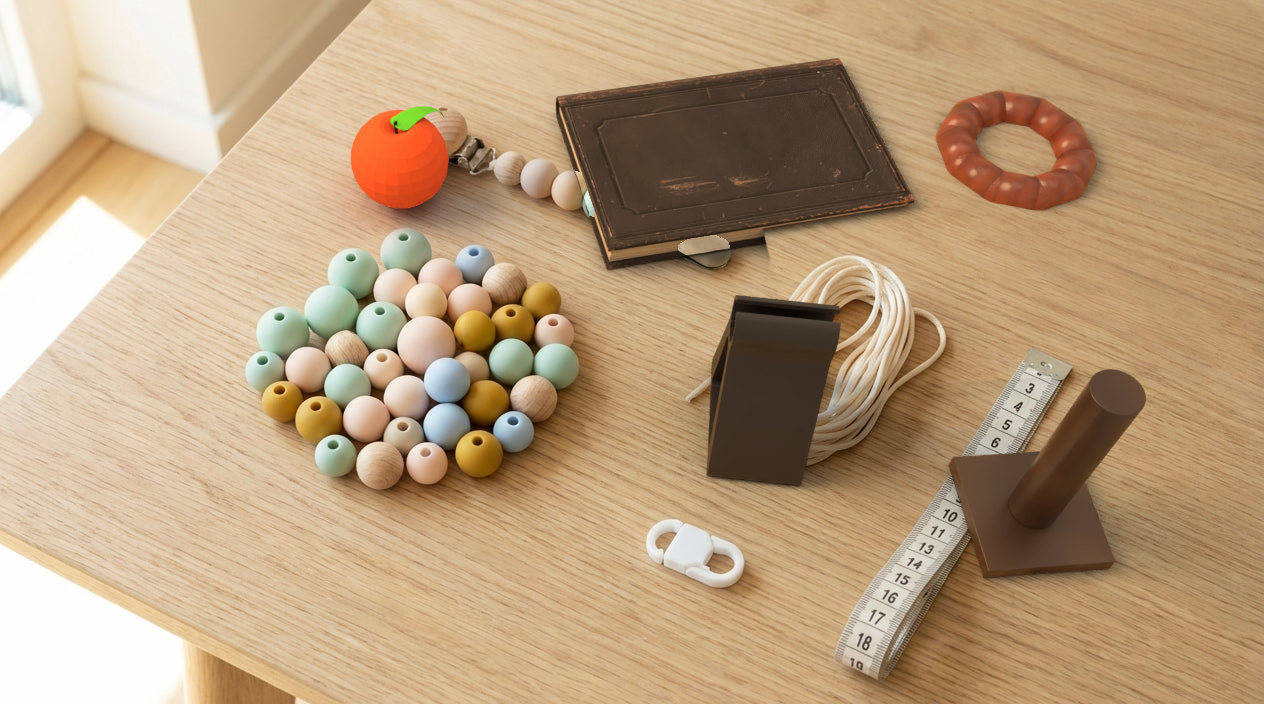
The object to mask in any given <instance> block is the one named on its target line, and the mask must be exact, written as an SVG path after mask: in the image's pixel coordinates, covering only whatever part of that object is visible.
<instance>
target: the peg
mask: <svg viewBox="0 0 1264 704" xmlns="http://www.w3.org/2000/svg"><path fill="white" fill-rule="evenodd" d="M1146 402H1147V395H1146V390H1145V388H1144V387H1143V386H1142V384H1141V383H1140V382H1139V380H1138V379H1136V377H1134V376H1132V375H1131V374H1129V373H1127V372H1125V371H1123V370H1119V369H1114V368H1106V369H1102V370H1099V371H1096V373H1094V374H1093V375H1092V376H1091V377H1090V379H1089V381H1088V382H1087V383H1086V385H1084V388H1083V389H1082V391H1080V393H1079V395H1078V396H1077V398H1076V400H1075V401H1074V402H1073V403H1072V405H1071V406H1070V407H1069V409H1068V411H1067V412H1066V413H1065V415H1064V416H1063V418H1062V419H1061V421H1060V423H1059V424H1058V425H1057V427H1056V428H1055V430H1054V431H1053V433H1052V434H1051V436H1050V437H1049V438H1048V440H1047V441H1046V443H1044V445H1043V447H1042V449H1041V450H1039V451H1025V452H1009V453H1008V452H1007V453H996V454H979V455H978V454H977V455H962V456H952V458H951V460H950V461H949V463H948V467H949V471H950V474H951V477H952V480H953V485H954V486H955V490H956V493H957V496H958V499H959V502H960V506H961V509H962V513H963V516H964V519H965V522H966V525H968V526H967V529H968V532H969V536H970V538H971V543H972V545H973V548H974V551H975V554H976V557H977V561H978V564H979V567H980V571H981V574H982V577H983V578H984V579H986V578H987V579H988V578H998V577H999V578H1000V577H1001V578H1002V577H1015V576H1027V575H1028V576H1029V575H1041V574H1043V575H1044V574H1056V573H1068V572H1083V571H1084V572H1085V571H1096V570H1098V571H1099V570H1109V569H1111V567H1112V566H1113V565H1114V564H1115V563H1116V559H1115V557H1114V553H1113V551H1112V548H1111V546H1110V543H1109V541H1108V538H1107V535H1106V532H1105V530H1104V528H1103V525H1102V522H1101V519H1100V517H1099V514H1098V512H1097V509H1096V506H1095V504H1094V502H1093V501H1094V500H1093V497H1092V495H1091V493H1090V491H1089V487H1088V484H1087V483H1086V482H1087V481H1088V480H1089V479H1090V477H1091V475H1093V473H1094V472H1095V470H1096V469H1097V468H1098V467H1099V465H1100V464H1101V463H1102V462H1103V460H1104V459H1105V458H1106V456H1107V455H1108V454H1109V453H1110V451H1111V450H1112V449H1113V448H1114V446H1115V445H1116V444H1117V442H1118V441H1119V440H1120V438H1122V436H1123V435H1124V433H1126V431H1127V430H1128V428H1129V427H1130V426H1131V424H1132V423H1133V422H1134V421H1135V420H1136V418H1137V417H1138V415H1139V414H1140V413H1141V411H1142V410H1143V409H1144V408H1145V406H1146Z"/></svg>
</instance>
